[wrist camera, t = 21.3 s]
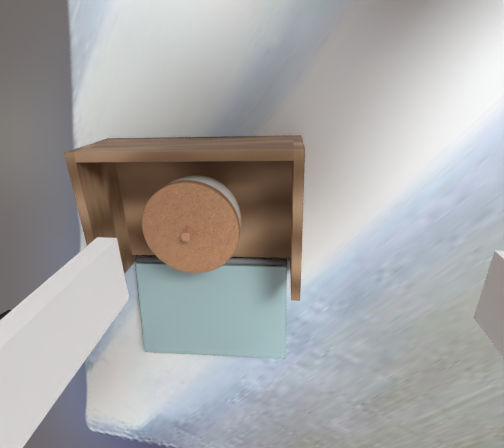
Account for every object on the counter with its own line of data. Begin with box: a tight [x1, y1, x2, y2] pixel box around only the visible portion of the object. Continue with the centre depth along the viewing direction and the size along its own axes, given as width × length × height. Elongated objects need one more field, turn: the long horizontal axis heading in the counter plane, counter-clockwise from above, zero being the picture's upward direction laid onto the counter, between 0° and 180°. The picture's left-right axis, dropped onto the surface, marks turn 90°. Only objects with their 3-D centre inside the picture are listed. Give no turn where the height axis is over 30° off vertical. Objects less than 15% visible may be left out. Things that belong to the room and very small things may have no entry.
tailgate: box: [136, 256, 287, 359], centre depth 48 cm, size 1×21×15 cm
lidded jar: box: [142, 175, 241, 273], centre depth 39 cm, size 11×11×9 cm
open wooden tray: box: [65, 136, 305, 301], centre depth 40 cm, size 17×24×9 cm
